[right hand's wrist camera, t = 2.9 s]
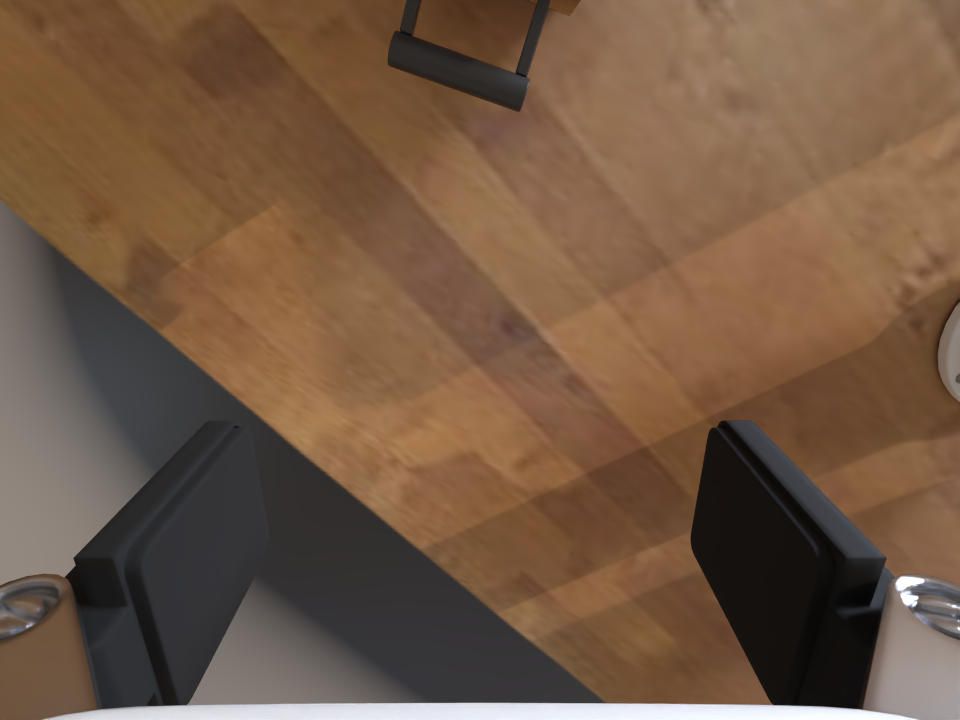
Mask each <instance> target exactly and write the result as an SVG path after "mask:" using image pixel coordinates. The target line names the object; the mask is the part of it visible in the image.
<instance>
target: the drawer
mask: <svg viewBox="0 0 960 720" xmlns="http://www.w3.org/2000/svg"><path fill="white" fill-rule="evenodd" d="M529 1H531V2H534V3H537V4H536V8H535V11H534V14H533V17H532V21H531V24H530V27H529V30H528V34H527V37H526V40H525V43H524V47H523V50H522V53H521V56H520V60H519V63H518V66H517V69H516V74H515V73H513V72H510V71H507V70H504V69H502V68H499V67H496V66H493V65H491V64H488V63H485V62H482V61H480V60H477V59H474V58H471V57H469V56H466V55H463V54H460V53H458V52H455V51H452V50H449V49H447V48H444V47H441V46H438V45H436V44H433V43H430V42H427V41H425V40H422V39H419V38H416V37H413V33H414V29H415V25H416V21H417V17H418V12H419V8H420V4H421V0H407V2H406V6H405V10H404V14H403V19H402V23H401V27H400V31H401V32H400V31H395V32H394V34H393V37H392V40H391V43H390V48H389V53H388V65H389V66H391V67H393V68H396V69H399V70H402V71H405V72H407V73H410V74H413V75H416V76H419V77H422V78H424V79H427V80H430V81H433V82H436V83H438V84H441V85H444V86H447V87H450V88H452V89H455V90H458V91H461V92H464V93H467V94H469V95H472V96H475V97H478V98H481V99H483V100H486V101H489V102H492V103H495V104H498V105H500V106H503V107H506V108H509V109H512V110H514V111H517V112H520V110H521V108H522V105H523V102H524V99H525V96H526V93H527V90H528V86H529V82H530V79H529V78H526V77H527V75H528V72H529V69H530V65H531V62H532V59H533V56H534V53H535V50H536V46H537V43H538V40H539V37H540V34H541V31H542V27H543V24H544V21H545V18H546V15H547V12H548V8H550V9H553V10H555V11H558V12H561V13H563V14H566V15H568V16H570V15H571V13H572V12H573V11H574V9H575V8H576V6H577V5H578V3H579V2H580V0H529Z"/></svg>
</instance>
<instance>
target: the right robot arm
mask: <svg viewBox="0 0 960 720" xmlns="http://www.w3.org/2000/svg"><path fill="white" fill-rule="evenodd" d="M938 369H939V372H940V376H941V379H942V382H943V384H944V385H945V387H946V388H947V390H948V392H949V393H950V394H951V395H952V396H953V397H954V398H955V399H957V400H958V401H959V402H960V302H959V303H958V305H957V306H956V307H955V309H954V310H953V312H952V314H951V316H950V317H949V319H948V321H947V323H946V325H945V328H944V330H943V333H942V336H941V338H940V344H939V350H938ZM268 547H269V531H268V525H267V520H266V514H265V508H264V502H263V496H262V491H261V485H260V479H259V474H258V468H257V462H256V456H255V451H254V445H253V439H252V434H251V431H250V429H249V428H243V426H242V424H241V423H240V422H239V421H208V422H206V423H205V424H204V425H203V426H202V427H201V428H200V429H199V430H198V431H197V432H196V433H195V434H194V435H193V436H192V437H191V438H190V439H189V440H188V441H187V442H186V443H185V444H184V445H183V446H182V447H181V448H180V449H179V451H178V452H177V453H176V454H175V455H174V456H173V457H172V458H171V459H170V460H169V461H168V462H167V463H166V464H165V465H164V466H163V467H162V468H161V469H160V470H159V471H158V472H157V473H156V474H155V475H154V476H153V477H152V478H151V479H150V480H149V481H148V482H147V483H146V484H145V485H144V486H143V487H142V488H141V489H140V490H139V492H138V493H137V494H136V495H135V496H134V497H133V498H132V499H131V500H130V501H129V502H128V503H127V504H126V505H125V506H124V507H123V508H122V509H121V510H120V511H119V512H118V513H117V514H116V515H115V516H114V517H113V518H112V519H111V520H110V521H109V522H108V523H107V524H106V525H105V526H104V527H103V528H102V529H101V530H100V531H99V532H98V534H97V535H96V536H95V537H94V538H93V539H92V540H91V541H90V542H89V543H88V544H87V545H86V546H85V547H84V548H83V549H82V550H81V551H80V552H79V553H78V554H77V555H76V556H75V557H74V561H75V564H76V566H75V567H74V568H73V569H72V570H71V571H70V572H69V573H68V574H67V575H66V576H65V578H64V577H62V576H59V575H55V574H39V575H33V576H26V577H23V578H20V579H17V580H13V581H10V582H7V583H5V584H3V585H1V586H0V720H960V586H959V585H957V584H955V583H953V582H950V581H947V580H944V579H940V578H937V577H934V576H928V575H921V574H905V575H900V576H898V577H896V578H895V576H894V575H893V574H892V573H891V572H890V571H889V570H888V569H887V568H886V567H885V566H884V564H885V561H886V557H885V556H884V555H883V554H882V553H881V552H880V551H879V550H878V549H877V548H876V547H875V546H874V545H873V544H872V543H871V542H870V541H869V540H868V539H867V538H866V537H865V536H864V535H863V533H862V532H861V531H860V530H859V529H858V528H857V527H856V526H855V525H854V524H853V523H852V522H851V521H850V520H849V519H848V518H847V517H846V516H845V515H844V514H843V513H842V512H841V511H840V510H839V509H838V508H837V507H836V506H835V505H834V504H833V503H832V502H831V501H830V500H829V499H828V498H827V497H826V496H825V495H824V494H823V493H822V491H821V490H820V489H819V488H818V487H817V486H816V485H815V484H814V483H813V482H812V481H811V480H810V479H809V478H808V477H807V476H806V475H805V474H804V473H803V472H802V471H801V470H800V469H799V468H798V467H797V466H796V465H795V464H794V463H793V462H792V461H791V460H790V459H789V458H788V457H787V456H786V455H785V454H784V453H783V452H782V451H781V449H780V448H779V447H778V446H777V445H776V444H775V443H774V442H773V441H772V440H771V439H770V438H769V437H768V436H767V435H766V434H765V433H764V432H763V431H762V430H761V429H760V428H759V427H758V426H757V425H756V424H755V423H754V422H752V421H721V422H720V423H719V424H718V426H717V428H711V429H710V431H709V434H708V439H707V445H706V451H705V456H704V462H703V468H702V474H701V479H700V485H699V491H698V496H697V502H696V508H695V514H694V519H693V525H692V531H691V547H692V551H693V553H694V556H695V558H696V559H697V561H698V563H699V565H700V567H701V569H702V571H703V573H704V575H705V577H706V579H707V581H708V583H709V585H710V586H711V588H712V590H713V592H714V594H715V596H716V598H717V600H718V602H719V604H720V606H721V608H722V610H723V612H724V613H725V615H726V617H727V619H728V621H729V623H730V625H731V627H732V629H733V631H734V633H735V635H736V637H737V639H738V641H739V642H740V644H741V646H742V648H743V650H744V652H745V654H746V656H747V658H748V660H749V662H750V664H751V666H752V668H753V669H754V671H755V673H756V675H757V677H758V679H759V681H760V683H761V685H762V687H763V689H764V691H765V693H766V695H767V696H768V698H769V700H770V701H771V703H772V704H773V705H733V704H592V703H590V704H589V703H371V704H370V703H369V704H227V705H187V704H188V703H189V701H190V700H191V698H192V696H193V694H194V693H195V691H196V689H197V687H198V685H199V683H200V681H201V679H202V677H203V675H204V673H205V671H206V669H207V668H208V666H209V664H210V662H211V660H212V658H213V656H214V654H215V652H216V650H217V648H218V646H219V644H220V642H221V641H222V639H223V637H224V635H225V633H226V631H227V629H228V627H229V625H230V623H231V621H232V619H233V617H234V615H235V613H236V611H237V610H238V608H239V606H240V604H241V602H242V600H243V598H244V596H245V594H246V592H247V590H248V588H249V586H250V585H251V583H252V581H253V579H254V577H255V575H256V573H257V571H258V569H259V567H260V565H261V563H262V561H263V559H264V558H265V556H266V553H267V551H268Z"/></svg>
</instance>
